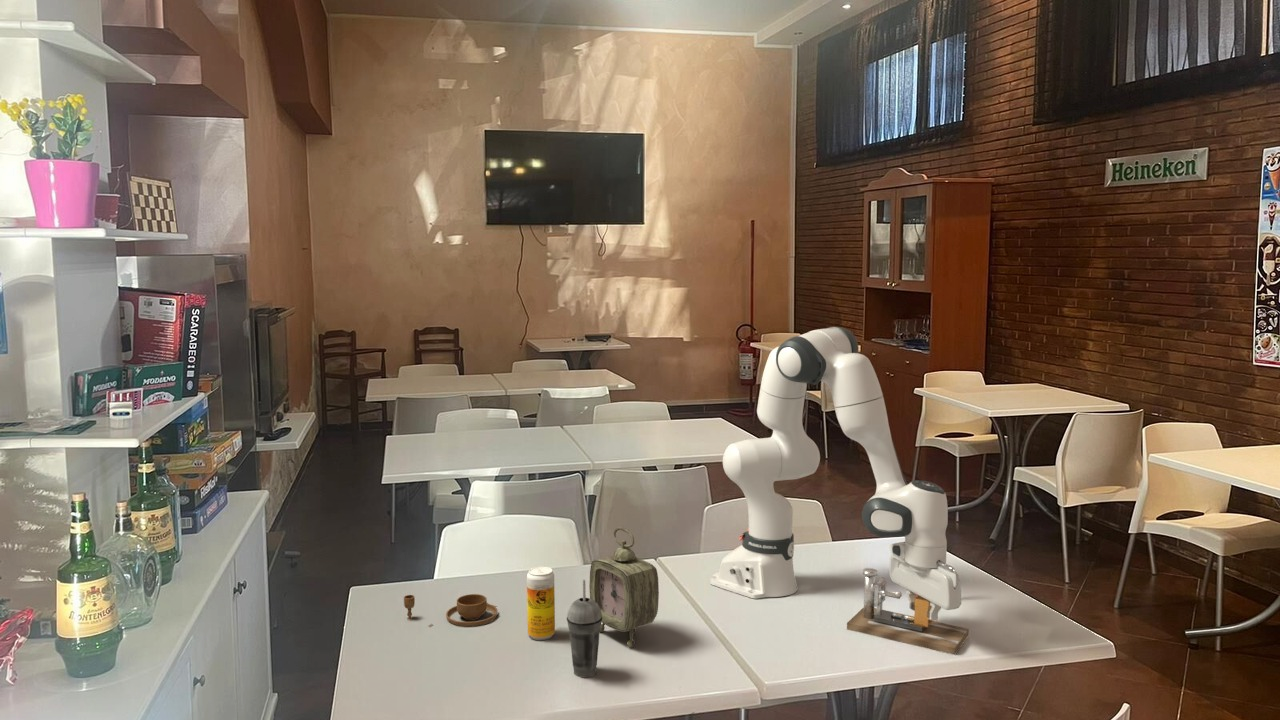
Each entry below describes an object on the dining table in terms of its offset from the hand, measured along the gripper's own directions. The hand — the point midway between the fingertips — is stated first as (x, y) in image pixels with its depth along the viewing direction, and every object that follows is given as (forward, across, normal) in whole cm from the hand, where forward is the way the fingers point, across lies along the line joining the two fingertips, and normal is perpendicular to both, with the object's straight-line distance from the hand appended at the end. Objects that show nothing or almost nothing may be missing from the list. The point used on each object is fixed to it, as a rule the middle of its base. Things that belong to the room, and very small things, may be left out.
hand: (923, 614), depth 201 cm
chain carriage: (+3, +4, +3) cm, 5 cm away
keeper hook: (+3, +8, +5) cm, 10 cm away
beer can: (+5, +32, +79) cm, 86 cm away
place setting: (+6, +51, +94) cm, 108 cm away
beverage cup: (+5, +11, +76) cm, 77 cm away
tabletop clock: (+5, +25, +62) cm, 67 cm away
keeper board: (+5, +3, +2) cm, 6 cm away
